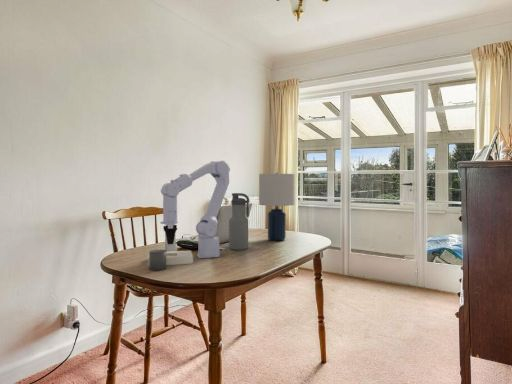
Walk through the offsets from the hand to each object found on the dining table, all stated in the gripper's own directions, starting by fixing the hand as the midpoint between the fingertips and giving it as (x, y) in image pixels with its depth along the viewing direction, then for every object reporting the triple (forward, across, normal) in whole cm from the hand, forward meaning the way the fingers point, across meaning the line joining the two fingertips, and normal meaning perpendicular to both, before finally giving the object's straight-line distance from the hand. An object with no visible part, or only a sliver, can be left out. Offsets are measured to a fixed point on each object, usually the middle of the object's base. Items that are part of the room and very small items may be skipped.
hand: (170, 243), depth 145 cm
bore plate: (+8, 0, 0) cm, 8 cm away
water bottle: (+8, -19, +34) cm, 40 cm away
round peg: (+8, +11, -5) cm, 14 cm away
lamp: (+8, -37, +60) cm, 71 cm away
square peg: (+3, 0, 0) cm, 3 cm away
